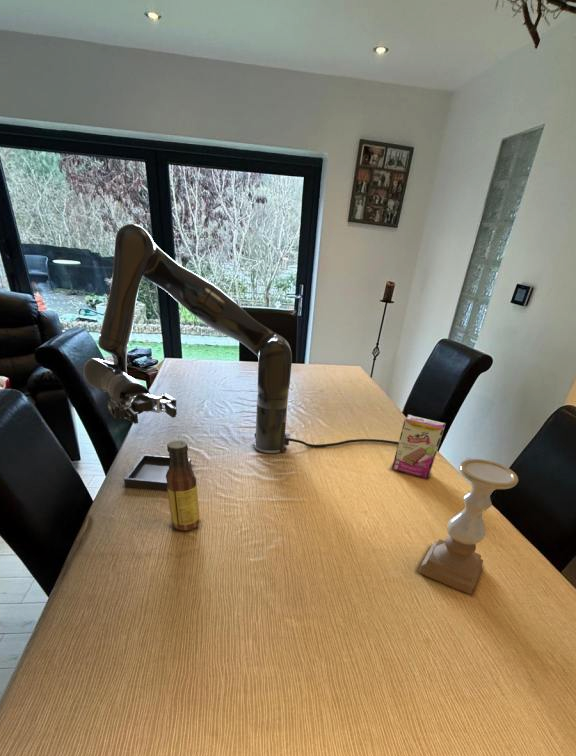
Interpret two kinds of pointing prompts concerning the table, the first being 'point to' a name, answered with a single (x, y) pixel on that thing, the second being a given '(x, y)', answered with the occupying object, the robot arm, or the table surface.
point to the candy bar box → (418, 446)
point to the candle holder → (467, 527)
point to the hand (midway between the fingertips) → (155, 416)
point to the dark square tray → (149, 472)
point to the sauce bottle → (182, 488)
